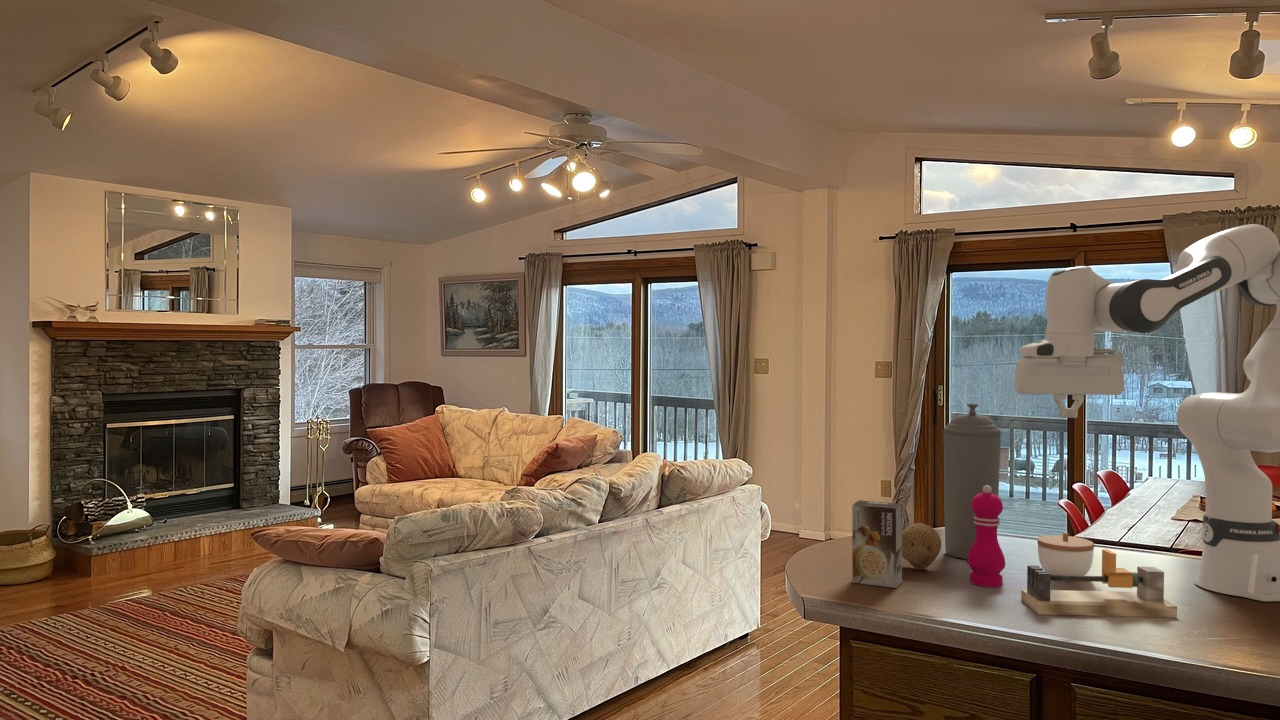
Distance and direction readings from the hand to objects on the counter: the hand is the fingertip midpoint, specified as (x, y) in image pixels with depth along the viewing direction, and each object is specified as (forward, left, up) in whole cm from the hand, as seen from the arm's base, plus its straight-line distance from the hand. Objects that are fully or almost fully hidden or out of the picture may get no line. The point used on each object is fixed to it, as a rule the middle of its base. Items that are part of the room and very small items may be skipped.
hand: (1068, 417), depth 179 cm
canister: (+11, -26, -34) cm, 44 cm away
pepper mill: (+15, -2, -34) cm, 37 cm away
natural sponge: (+26, -12, -34) cm, 45 cm away
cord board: (0, +14, -34) cm, 37 cm away
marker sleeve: (-4, +14, -30) cm, 33 cm away
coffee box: (+37, -1, -34) cm, 51 cm away
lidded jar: (-3, -8, -34) cm, 35 cm away
